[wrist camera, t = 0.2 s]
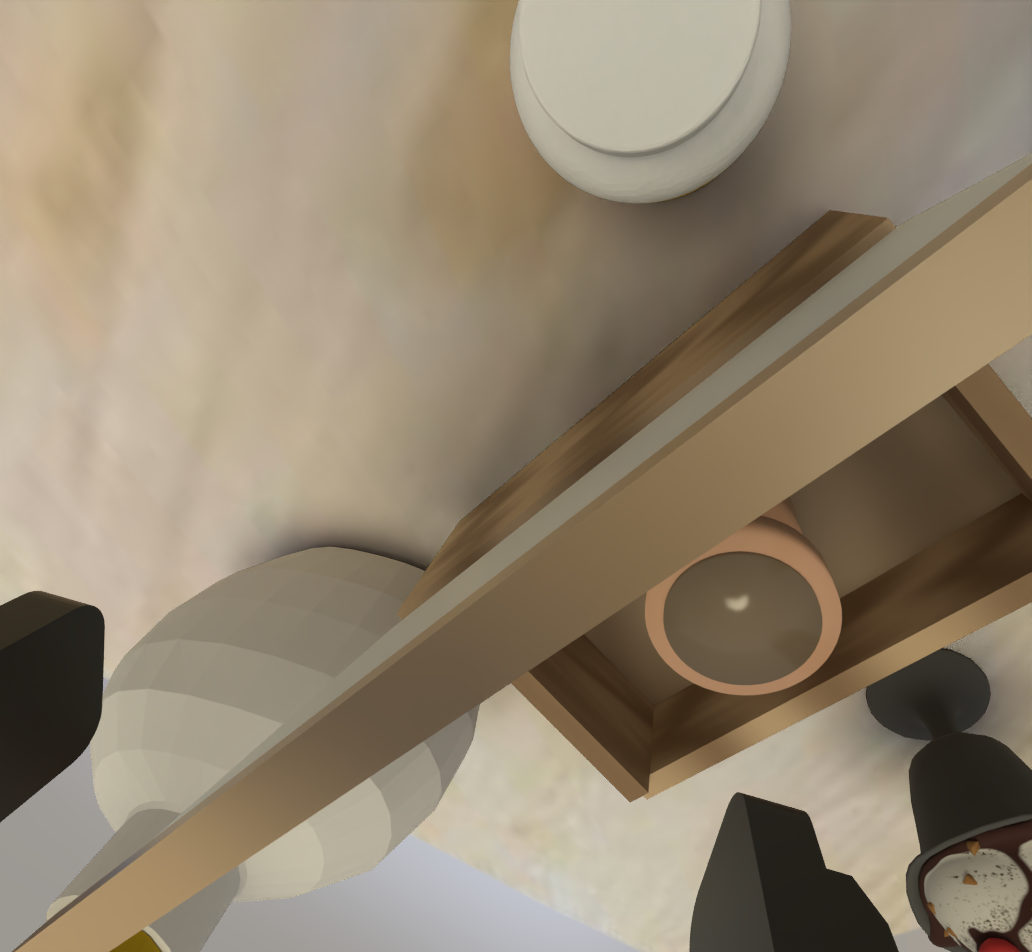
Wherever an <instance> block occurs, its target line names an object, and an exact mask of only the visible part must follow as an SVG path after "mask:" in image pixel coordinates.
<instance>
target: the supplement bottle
mask: <svg viewBox="0 0 1032 952" xmlns="http://www.w3.org/2000/svg"><path fill="white" fill-rule="evenodd" d="M790 43H791V9H790V2H789V0H519V2H518V6H517V9H516V13H515V17H514V22H513V27H512V35H511V42H510V75H511V83H512V88H513V94H514V98H515V102H516V106H517V110H518V113H519V115H520V118H521V121H522V123H523V125H524V128H525V130H526V132H527V134H528V136H529V138H530V140H531V141H532V143H533V144H534V146H535V148H536V149H537V151H538V152H539V154H540V155H541V156H542V157H543V158H544V160H545V161H546V162H547V163H548V164H549V165H550V167H551V168H552V169H554V170H555V171H556V172H557V173H558V174H559V175H560V176H561V177H563V178H564V179H565V180H566V181H568V182H569V183H571V184H573V185H574V186H576V187H577V188H579V189H581V190H583V191H585V192H587V193H590V194H592V195H594V196H597V197H600V198H603V199H607V200H611V201H616V202H622V203H654V202H661V201H667V200H672V199H676V198H679V197H682V196H685V195H687V194H689V193H691V192H694V191H696V190H698V189H699V188H701V187H703V186H704V185H706V184H707V183H709V182H710V181H712V180H713V179H714V178H716V177H717V176H718V175H719V174H721V173H722V172H723V171H724V170H726V169H727V168H728V167H729V166H730V165H731V164H732V163H733V162H734V161H735V160H736V159H737V158H738V157H739V156H740V155H741V154H742V153H743V152H744V151H745V150H746V148H747V147H748V146H749V145H750V144H751V142H752V141H753V139H754V138H755V137H756V135H757V134H758V133H759V131H760V130H761V128H762V126H763V125H764V123H765V121H766V120H767V118H768V116H769V114H770V112H771V110H772V108H773V106H774V104H775V102H776V99H777V97H778V94H779V92H780V89H781V86H782V83H783V80H784V77H785V73H786V68H787V64H788V58H789V51H790Z"/></svg>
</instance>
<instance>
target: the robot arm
mask: <svg viewBox="0 0 1032 952" xmlns="http://www.w3.org/2000/svg"><path fill="white" fill-rule="evenodd" d="M104 631H105V625H104V618H103V615H102V613H101V611H100V610H99V609H98V608H96V607H95V606H92V605H88V604H85V603H81V602H78V601H74V600H71V599H67V598H64V597H60V596H57V595H53V594H50V593H46V592H42V591H33V592H29V593H26V594H24V595H21V596H19V597H17V598H15V599H13V600H11V601H9V602H7V603H5V604H3V605H1V606H0V822H1V821H2V820H4V819H5V818H6V817H7V816H9V814H11V813H12V812H13V811H14V810H16V809H17V808H18V807H19V806H21V805H22V804H23V803H24V802H26V801H27V800H28V799H29V798H30V797H32V796H33V795H34V794H35V793H36V792H38V791H39V790H40V789H41V788H43V787H44V786H45V785H46V784H48V783H49V782H50V781H51V780H52V779H54V778H55V777H56V776H57V775H58V774H60V773H61V772H62V771H63V770H64V769H66V768H67V767H68V766H69V765H71V764H72V763H73V762H74V761H75V760H76V759H77V758H78V757H79V756H80V755H81V754H82V753H83V751H84V750H85V749H86V748H87V746H88V745H89V743H90V741H91V740H92V738H93V736H94V734H95V732H96V730H97V728H98V725H99V722H100V718H101V714H102V697H103V664H104ZM690 952H899V951H898V949H897V946H896V943H895V941H894V938H893V936H892V933H891V930H890V928H889V925H888V923H887V922H886V921H885V919H884V918H883V917H882V915H881V914H880V913H879V912H878V910H877V909H876V908H875V906H874V905H873V904H872V902H871V901H870V900H869V898H868V897H867V896H866V894H865V893H864V892H863V890H862V889H861V888H860V886H859V885H858V884H857V882H856V881H855V880H854V878H853V877H852V876H850V875H846V874H843V873H840V872H836V871H833V870H829V869H826V866H825V863H824V860H823V857H822V853H821V850H820V847H819V844H818V841H817V837H816V834H815V831H814V828H813V825H812V822H811V819H810V817H809V816H808V814H807V813H806V812H805V811H802V810H799V809H795V808H792V807H788V806H785V805H781V804H778V803H774V802H771V801H767V800H764V799H760V798H757V797H753V796H750V795H746V794H743V793H739V792H738V793H736V794H735V795H734V796H733V797H732V799H731V801H730V803H729V805H728V808H727V810H726V813H725V816H724V819H723V822H722V825H721V828H720V831H719V833H718V836H717V839H716V842H715V845H714V848H713V851H712V854H711V857H710V859H709V862H708V865H707V868H706V871H705V874H704V877H703V880H702V883H701V886H700V888H699V891H698V895H697V898H696V902H695V906H694V911H693V917H692V924H691V933H690Z"/></svg>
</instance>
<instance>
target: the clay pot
mask: <svg viewBox="0 0 1032 952" xmlns="http://www.w3.org/2000/svg"><path fill="white" fill-rule="evenodd" d="M645 620H646V627H647V630H648V634H649V637H650V639H651V641H652V644H653V646H654V647H655V649H656V650H657V652H658V654H659V655H660V656H661V657H662V659H663V660H664V661H665V662H666V663H667V664H668V665H669V666H670V667H671V668H672V669H673V670H674V671H675V672H677V673H678V674H680V675H681V676H682V677H684V678H685V679H687V680H689V681H691V682H692V683H694V684H697V685H699V686H701V687H703V688H706V689H709V690H712V691H716V692H720V693H725V694H732V695H760V694H767V693H772V692H777V691H780V690H783V689H786V688H789V687H791V686H793V685H795V684H797V683H799V682H801V681H803V680H804V679H806V678H807V677H809V676H810V675H812V674H813V673H814V672H815V671H816V670H818V669H819V668H820V667H821V666H822V665H823V663H824V662H825V661H826V660H827V659H828V657H829V656H830V654H831V653H832V651H833V649H834V647H835V645H836V643H837V641H838V638H839V635H840V632H841V625H842V608H841V603H840V598H839V596H838V593H837V590H836V587H835V585H834V582H833V579H832V577H831V574H830V572H829V569H828V566H827V564H826V562H825V560H824V558H823V557H822V555H821V553H820V552H819V551H818V549H817V548H816V547H815V546H814V545H813V544H812V543H811V542H810V541H809V540H808V539H807V538H806V537H805V536H804V535H803V533H802V530H801V527H800V524H799V521H798V518H797V516H796V513H795V510H794V507H793V504H792V501H791V498H790V496H789V497H788V498H786V499H785V500H783V501H782V502H780V503H779V504H777V505H776V506H774V507H773V508H771V509H770V510H768V511H767V512H765V513H764V514H762V515H761V516H759V517H758V518H756V519H755V520H753V521H752V522H750V523H749V524H747V525H746V526H744V527H743V528H741V529H740V530H738V531H737V532H735V533H734V534H732V535H731V536H729V537H728V538H727V539H725V540H724V541H722V542H721V543H719V544H718V545H716V546H715V547H713V548H712V549H710V550H709V551H707V552H706V553H704V554H703V555H701V556H700V557H698V558H697V559H695V560H694V561H692V562H691V563H689V564H688V565H686V566H685V567H683V568H682V569H680V570H679V571H677V572H676V573H674V574H673V575H671V576H670V577H668V578H667V579H665V580H664V581H662V582H661V583H659V584H658V585H656V586H655V587H653V588H652V589H650V590H649V591H647V592H646V602H645Z"/></svg>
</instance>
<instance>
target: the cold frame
mask: <svg viewBox="0 0 1032 952" xmlns="http://www.w3.org/2000/svg"><path fill="white" fill-rule="evenodd" d="M895 228H896V227H895V226H894V225H893V223H892V222H891V221H890V220H889V218H884V217H876V216H869V215H861V214H854V213H846V212H839V211H831V210H830V211H829V212H827V213H826V214H825V215H824V216H823V217H821V218H820V219H819V220H818V221H817V222H815V223H814V224H813V225H812V226H811V227H809V228H808V229H807V230H806V231H805V232H804V233H802V234H801V235H800V236H799V237H798V238H796V239H795V240H794V241H793V242H792V243H790V244H789V245H788V246H787V247H786V248H784V249H783V250H782V251H781V252H780V253H779V254H777V255H776V256H775V257H774V258H773V259H771V260H770V261H769V262H768V263H767V264H765V265H764V266H763V267H762V268H761V269H760V270H758V271H757V272H756V273H755V274H754V275H752V276H751V277H750V278H749V279H748V280H746V281H745V282H744V283H743V284H742V285H740V286H739V287H738V288H737V289H736V290H735V291H733V292H732V293H731V294H730V295H729V296H727V297H726V298H725V299H724V300H723V301H721V302H720V303H719V304H718V305H717V306H715V307H714V308H713V309H712V310H711V311H710V312H708V313H707V314H706V315H705V316H704V317H702V318H701V319H700V320H699V321H698V322H696V323H695V324H694V325H693V326H692V327H691V328H689V329H688V330H687V331H686V332H685V333H683V334H682V335H681V336H680V337H679V338H677V339H676V340H675V341H674V342H673V343H671V344H670V345H669V346H668V347H667V348H666V349H664V350H663V351H662V352H661V353H660V354H658V355H657V356H656V357H655V358H654V359H652V360H651V361H650V362H649V363H648V364H646V365H645V366H644V367H643V368H642V369H641V370H639V371H638V372H637V373H636V374H635V375H633V376H632V377H631V378H630V379H629V380H627V381H626V382H625V383H624V384H623V385H622V386H620V387H619V388H618V389H617V390H616V391H614V392H613V393H612V394H611V395H610V396H608V397H607V398H606V399H605V400H604V401H602V402H601V403H600V404H599V405H598V406H597V407H595V408H594V409H593V410H592V411H591V412H589V413H588V414H587V415H586V416H585V417H583V418H582V419H581V420H580V421H579V422H577V423H576V424H575V425H574V426H573V427H572V428H570V429H569V430H568V431H567V432H566V433H564V434H563V435H562V436H561V437H560V438H558V439H557V440H556V441H555V442H554V443H553V444H551V445H550V446H549V447H548V448H547V449H545V450H544V451H543V452H542V453H541V454H539V455H538V456H537V457H536V458H535V459H533V460H532V461H531V462H530V463H529V464H528V465H526V466H525V467H524V468H523V469H522V470H520V471H519V472H518V473H517V474H516V475H514V476H513V477H512V478H511V479H510V480H508V481H507V482H506V483H505V484H504V485H503V486H501V487H500V488H499V489H498V490H497V491H495V492H494V493H493V494H492V495H491V496H489V497H488V498H487V499H486V500H485V501H484V502H482V503H481V504H480V505H479V506H478V507H476V508H475V509H474V510H473V511H472V512H470V513H469V514H468V515H467V516H466V517H464V518H463V519H462V520H461V521H460V522H459V523H458V524H457V526H456V527H455V529H454V530H453V532H452V533H451V534H450V536H449V537H448V539H447V540H446V542H445V543H444V545H443V546H442V548H441V549H440V551H439V552H438V553H437V555H436V556H435V558H434V559H433V561H432V562H431V564H430V565H429V567H428V568H427V570H426V571H425V572H424V574H423V575H422V577H421V578H420V580H419V581H418V583H417V584H416V586H415V587H414V589H413V590H412V592H411V593H410V594H409V596H408V597H407V599H406V600H405V602H404V603H403V605H402V606H401V608H400V609H399V611H398V612H397V613H396V614H397V615H398V616H399V617H400V618H401V619H402V620H403V619H404V618H406V617H407V616H408V615H409V614H411V613H412V612H413V611H414V610H416V609H417V608H418V607H419V606H421V605H422V604H423V603H424V602H426V601H427V600H428V599H429V598H431V597H432V596H433V595H435V594H436V593H437V592H438V591H440V590H441V589H442V588H443V587H445V586H446V585H447V584H448V583H450V582H451V581H452V580H453V579H455V578H456V577H457V576H458V575H460V574H461V573H462V572H463V571H465V570H466V569H467V568H469V567H470V566H471V565H472V564H474V563H475V562H476V561H477V560H479V559H480V558H481V557H482V556H484V555H485V554H486V553H487V552H489V551H490V550H491V549H492V548H494V547H495V546H496V545H497V544H499V543H500V542H501V541H503V540H504V539H505V538H506V537H508V536H509V535H510V534H511V533H513V532H514V531H515V530H516V529H518V528H519V527H520V526H521V525H523V524H524V523H525V522H526V521H528V520H529V519H530V518H531V517H533V516H534V515H535V514H537V513H538V512H539V511H540V510H542V509H543V508H544V507H545V506H547V505H548V504H549V503H550V502H552V501H553V500H554V499H555V498H557V497H558V496H559V495H560V494H562V493H563V492H564V491H565V490H567V489H568V488H569V487H570V486H572V485H573V484H574V483H576V482H577V481H578V480H579V479H581V478H582V477H583V476H584V475H586V474H587V473H588V472H589V471H591V470H592V469H593V468H594V467H596V466H597V465H598V464H599V463H601V462H602V461H603V460H604V459H606V458H607V457H608V456H610V455H611V454H612V453H613V452H615V451H616V450H617V449H618V448H620V447H621V446H622V445H623V444H625V443H626V442H627V441H628V440H630V439H631V438H632V437H633V436H635V435H636V434H637V433H638V432H640V431H641V430H642V429H644V428H645V427H646V426H647V425H649V424H650V423H651V422H652V421H654V420H655V419H656V418H657V417H659V416H660V415H661V414H662V413H664V412H665V411H666V410H667V409H669V408H670V407H671V406H672V405H674V404H675V403H676V402H678V401H679V400H680V399H681V398H683V397H684V396H685V395H686V394H688V393H689V392H690V391H691V390H693V389H694V388H695V387H696V386H698V385H699V384H700V383H701V382H703V381H704V380H705V379H706V378H708V377H709V376H710V375H712V374H713V373H714V372H715V371H717V370H718V369H719V368H720V367H722V366H723V365H724V364H725V363H727V362H728V361H729V360H730V359H732V358H733V357H734V356H735V355H737V354H738V353H739V352H740V351H742V350H743V349H744V348H746V347H747V346H748V345H749V344H751V343H752V342H753V341H754V340H756V339H757V338H758V337H759V336H761V335H762V334H763V333H764V332H766V331H767V330H768V329H769V328H771V327H772V326H773V325H774V324H776V323H777V322H778V321H780V320H781V319H782V318H783V317H785V316H786V315H787V314H788V313H790V312H791V311H792V310H793V309H795V308H796V307H797V306H798V305H800V304H801V303H802V302H803V301H805V300H806V299H807V298H808V297H810V296H811V295H812V294H814V293H815V292H816V291H817V290H819V289H820V288H821V287H822V286H824V285H825V284H826V283H827V282H829V281H830V280H831V279H832V278H834V277H835V276H836V275H837V274H839V273H840V272H841V271H842V270H844V269H845V268H846V267H848V266H849V265H850V264H851V263H853V262H854V261H855V260H856V259H858V258H859V257H860V256H861V255H863V254H864V253H865V252H866V251H868V250H869V249H870V248H871V247H873V246H874V245H875V244H876V243H878V242H879V241H880V240H882V239H883V238H884V237H885V236H887V235H888V234H889V233H890V232H892V231H893V230H894V229H895ZM790 498H791V501H792V504H793V507H794V510H795V513H796V516H797V518H798V521H799V524H800V527H801V530H802V533H803V535H804V536H805V537H806V538H807V539H808V540H809V541H810V542H811V543H812V544H813V545H814V546H815V547H816V548H817V549H818V551H819V552H820V553H821V555H822V557H823V558H824V560H825V562H826V564H827V566H828V569H829V572H830V574H831V577H832V579H833V582H834V585H835V587H836V590H837V593H838V596H839V598H840V603H841V608H842V625H841V632H840V635H839V638H838V641H837V643H836V645H835V647H834V649H833V651H832V653H831V654H830V656H829V657H828V659H827V660H826V661H825V662H824V663H823V665H822V666H821V667H820V668H819V669H818V670H816V671H815V672H814V673H813V674H812V675H810V676H809V677H807V678H806V679H804V680H803V681H801V682H799V683H797V684H795V685H793V686H791V687H789V688H786V689H783V690H780V691H777V692H772V693H767V694H760V695H732V694H725V693H720V692H716V691H712V690H709V689H706V688H703V687H701V686H699V685H697V684H694V683H692V682H691V681H689V680H687V679H685V678H684V677H682V676H681V675H680V674H678V673H677V672H675V671H674V670H673V669H672V668H671V667H670V666H669V665H668V664H667V663H666V662H665V661H664V660H663V659H662V657H661V656H660V655H659V654H658V652H657V650H656V649H655V647H654V646H653V644H652V641H651V639H650V637H649V634H648V630H647V627H646V620H645V602H646V593H644V594H643V595H641V596H640V597H638V598H637V599H635V600H634V601H632V602H631V603H629V604H628V605H626V606H625V607H623V608H622V609H620V610H619V611H617V612H616V613H614V614H613V615H611V616H610V617H608V618H607V619H605V620H604V621H602V622H601V623H600V624H598V625H597V626H595V627H594V628H592V629H591V630H589V631H588V632H586V633H585V634H583V635H582V636H580V637H579V638H577V639H576V640H574V641H573V642H571V643H570V644H568V645H567V646H565V647H564V648H562V649H561V650H559V651H558V652H556V653H555V654H553V655H552V656H550V657H549V658H547V659H546V660H544V661H543V662H541V663H540V664H538V665H537V666H535V667H534V668H532V669H531V670H529V671H528V672H526V673H525V674H523V675H522V676H520V677H519V678H517V679H516V680H514V681H513V682H511V683H512V684H513V685H514V686H515V687H516V688H517V689H518V690H519V691H520V692H521V693H522V694H523V695H524V696H525V697H526V698H527V699H528V700H529V701H530V703H531V704H532V705H533V706H534V707H535V708H536V709H537V710H538V711H539V712H540V713H541V714H542V715H543V716H544V717H545V718H546V719H547V720H548V721H549V722H550V723H551V724H552V725H553V726H554V727H555V728H556V729H557V730H558V731H559V732H560V733H561V734H562V735H563V736H564V737H565V738H566V739H567V740H568V741H569V742H570V743H571V744H572V745H573V746H574V747H575V748H576V749H577V750H578V751H579V752H580V753H581V754H582V755H583V756H584V757H585V758H586V759H587V760H588V761H589V762H590V763H591V764H592V765H593V766H594V767H595V768H596V769H597V770H598V771H599V772H600V773H601V774H602V775H603V776H604V777H605V778H606V779H607V780H608V781H609V782H610V783H611V784H612V785H613V786H614V787H615V788H616V789H617V790H618V791H619V792H620V793H621V794H622V795H623V796H624V797H625V798H626V799H627V800H628V801H629V802H632V801H634V800H636V799H638V798H640V797H641V796H644V797H645V798H646V799H649V798H651V797H653V796H654V795H656V794H658V793H660V792H662V791H664V790H666V789H668V788H670V787H672V786H674V785H676V784H678V783H680V782H682V781H684V780H686V779H688V778H690V777H692V776H693V775H695V774H697V773H699V772H701V771H703V770H705V769H707V768H709V767H711V766H713V765H715V764H717V763H719V762H721V761H723V760H725V759H727V758H729V757H731V756H732V755H734V754H736V753H738V752H740V751H742V750H744V749H746V748H748V747H750V746H752V745H754V744H756V743H758V742H760V741H762V740H764V739H766V738H768V737H769V736H771V735H773V734H775V733H777V732H779V731H781V730H783V729H785V728H787V727H789V726H791V725H793V724H795V723H797V722H799V721H801V720H803V719H805V718H807V717H808V716H810V715H812V714H814V713H816V712H818V711H820V710H822V709H824V708H826V707H828V706H830V705H832V704H834V703H836V702H838V701H840V700H842V699H844V698H846V697H847V696H849V695H851V694H853V693H855V692H857V691H859V690H861V689H863V688H865V687H867V686H869V685H871V684H873V683H875V682H877V681H879V680H881V679H883V678H884V677H886V676H888V675H890V674H892V673H894V672H896V671H898V670H900V669H902V668H904V667H906V666H908V665H910V664H912V663H914V662H916V661H918V660H920V659H922V658H923V657H925V656H927V655H929V654H931V653H933V652H935V651H937V650H939V649H941V648H943V647H945V646H947V645H949V644H951V643H953V642H955V641H957V640H959V639H961V638H962V637H964V636H966V635H968V634H970V633H972V632H974V631H976V630H978V629H980V628H982V627H984V626H986V625H988V624H990V623H992V622H994V621H996V620H998V619H999V618H1001V617H1003V616H1005V615H1007V614H1009V613H1011V612H1013V611H1015V610H1017V609H1019V608H1021V607H1023V606H1025V605H1027V604H1029V603H1031V602H1032V418H1031V417H1030V415H1029V414H1028V413H1027V412H1026V410H1025V409H1024V408H1023V407H1022V405H1021V404H1020V403H1019V402H1018V400H1017V399H1016V398H1015V397H1014V395H1013V394H1012V393H1011V392H1010V390H1009V389H1008V388H1007V387H1006V385H1005V384H1004V383H1003V382H1002V380H1001V379H1000V378H999V377H998V375H997V374H996V373H995V372H994V370H993V369H992V368H991V367H990V365H989V364H986V365H985V366H983V367H982V368H981V369H979V370H978V371H976V372H975V373H973V374H972V375H970V376H969V377H967V378H966V379H964V380H963V381H961V382H960V383H958V384H957V385H955V386H954V387H952V388H951V389H949V390H948V391H946V392H945V393H943V394H942V395H940V396H939V397H937V398H936V399H934V400H933V401H931V402H930V403H928V404H927V405H925V406H924V407H922V408H921V409H919V410H918V411H916V412H915V413H913V414H912V415H910V416H909V417H907V418H906V419H904V420H903V421H901V422H900V423H898V424H897V425H895V426H894V427H892V428H891V429H889V430H888V431H886V432H885V433H883V434H882V435H880V436H879V437H877V438H876V439H874V440H873V441H871V442H870V443H868V444H867V445H865V446H864V447H862V448H861V449H859V450H858V451H856V452H855V453H854V454H852V455H851V456H849V457H848V458H846V459H845V460H843V461H842V462H840V463H839V464H837V465H836V466H834V467H833V468H831V469H830V470H828V471H827V472H825V473H824V474H822V475H821V476H819V477H818V478H816V479H815V480H813V481H812V482H810V483H809V484H807V485H806V486H804V487H803V488H801V489H800V490H798V491H797V492H795V493H794V494H792V495H791V496H790Z"/></svg>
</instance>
